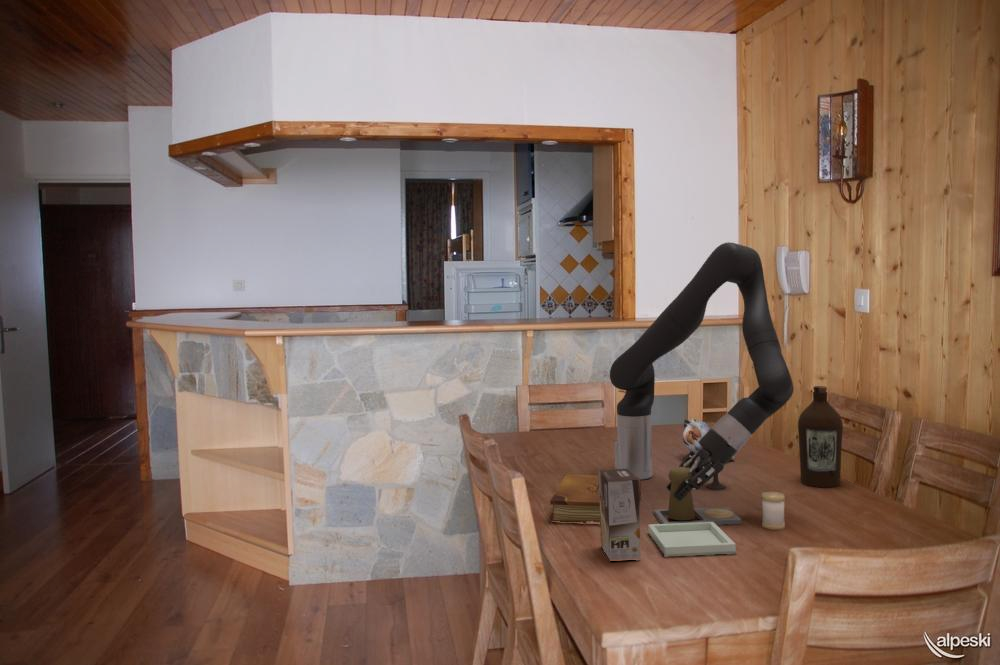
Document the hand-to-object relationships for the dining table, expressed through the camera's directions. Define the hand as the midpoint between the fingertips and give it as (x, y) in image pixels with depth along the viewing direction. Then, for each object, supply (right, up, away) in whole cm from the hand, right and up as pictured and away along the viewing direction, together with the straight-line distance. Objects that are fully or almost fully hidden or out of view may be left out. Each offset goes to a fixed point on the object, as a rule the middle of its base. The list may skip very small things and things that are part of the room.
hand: (672, 493), depth 173 cm
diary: (-15, -6, +10) cm, 20 cm away
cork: (+2, -5, +1) cm, 6 cm away
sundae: (+17, -4, +26) cm, 31 cm away
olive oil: (+44, -3, +26) cm, 51 cm away
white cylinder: (+20, -6, -6) cm, 22 cm away
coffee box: (-15, -8, -19) cm, 25 cm away
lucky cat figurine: (+23, -1, +55) cm, 59 cm away
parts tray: (0, -7, -15) cm, 16 cm away
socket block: (+5, -6, 0) cm, 8 cm away
